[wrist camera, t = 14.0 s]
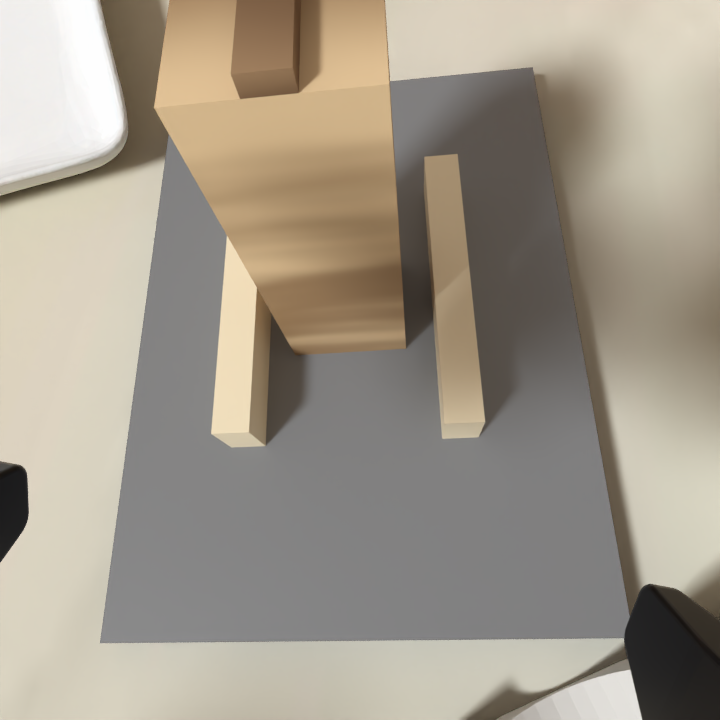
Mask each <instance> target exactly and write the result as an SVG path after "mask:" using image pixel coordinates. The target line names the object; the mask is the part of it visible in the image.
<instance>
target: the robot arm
mask: <svg viewBox="0 0 720 720" xmlns="http://www.w3.org/2000/svg"><path fill="white" fill-rule="evenodd" d="M28 514H29V508H28V482H27V472H26V470H25V469H24V468H23V467H22V466H21V465H17V464H12V463H7V462H1V461H0V562H1V561H2V559H3V558H4V557H5V555H6V554H7V553H8V551H9V550H10V548H11V547H12V546H13V544H14V543H15V541H16V540H17V539H18V537H19V536H20V534H21V533H22V531H23V530H24V528H25V526H26V523H27V520H28ZM624 643H625V650H626V654H627V658H628V662H629V667H630V671H631V675H632V679H633V683H634V688H635V692H636V696H637V700H638V705H639V709H640V713H641V717H642V720H720V620H718V619H717V618H716V617H714V616H713V615H712V614H710V613H709V612H708V611H706V610H705V609H704V608H702V607H701V606H700V605H698V604H697V603H696V602H694V601H693V600H692V599H690V598H689V597H687V596H686V595H685V594H683V593H682V592H681V591H679V590H677V589H674V588H670V587H665V586H659V585H654V584H648V585H645V586H644V587H643V588H642V589H641V591H640V593H639V595H638V598H637V600H636V603H635V605H634V608H633V610H632V613H631V615H630V618H629V621H628V623H627V626H626V629H625V634H624Z"/></svg>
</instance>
